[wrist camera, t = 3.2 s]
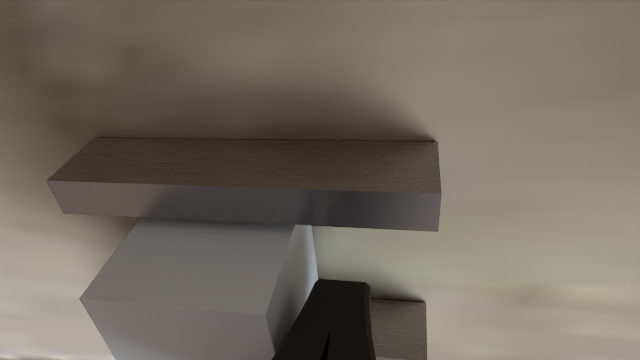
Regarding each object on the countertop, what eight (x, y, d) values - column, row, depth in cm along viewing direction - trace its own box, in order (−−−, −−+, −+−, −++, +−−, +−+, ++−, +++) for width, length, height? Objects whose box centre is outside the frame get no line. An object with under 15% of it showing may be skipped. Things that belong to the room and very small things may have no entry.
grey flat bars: (437, 141, 10) (441, 193, 9) (424, 323, 14) (425, 382, 13) (94, 137, 12) (45, 180, 11) (165, 301, 16) (137, 350, 14)
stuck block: (306, 188, 12) (265, 314, 9) (320, 292, 14) (291, 422, 11) (165, 184, 12) (78, 298, 9) (200, 282, 15) (140, 401, 12)
